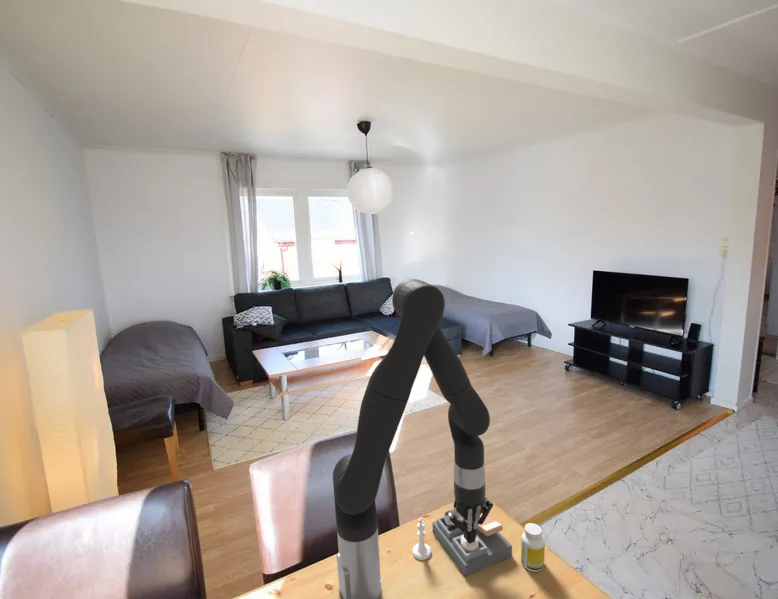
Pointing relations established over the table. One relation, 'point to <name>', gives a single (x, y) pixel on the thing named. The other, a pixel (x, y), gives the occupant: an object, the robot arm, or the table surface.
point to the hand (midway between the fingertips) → (470, 540)
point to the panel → (486, 555)
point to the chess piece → (421, 544)
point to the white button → (469, 545)
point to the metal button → (448, 522)
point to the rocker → (489, 526)
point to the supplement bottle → (532, 548)
